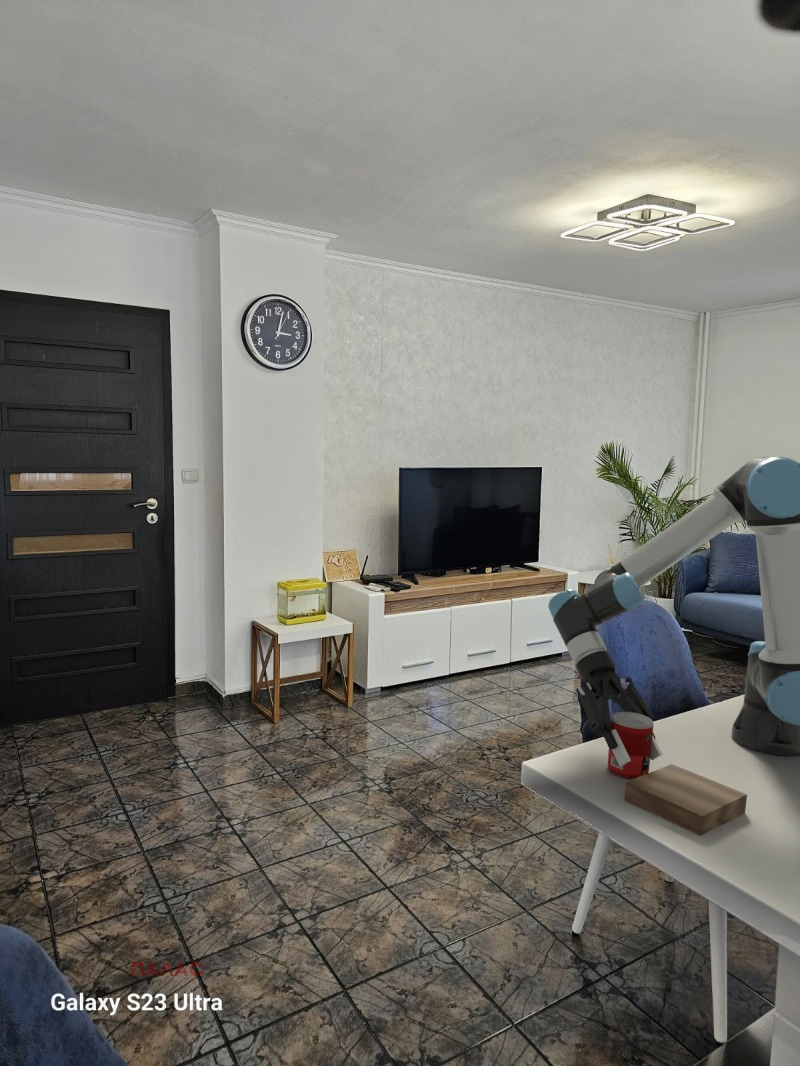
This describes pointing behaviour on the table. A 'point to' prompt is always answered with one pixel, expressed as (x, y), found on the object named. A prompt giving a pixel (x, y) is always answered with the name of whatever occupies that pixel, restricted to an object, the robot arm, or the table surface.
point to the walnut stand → (685, 798)
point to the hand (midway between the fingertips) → (641, 760)
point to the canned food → (632, 744)
